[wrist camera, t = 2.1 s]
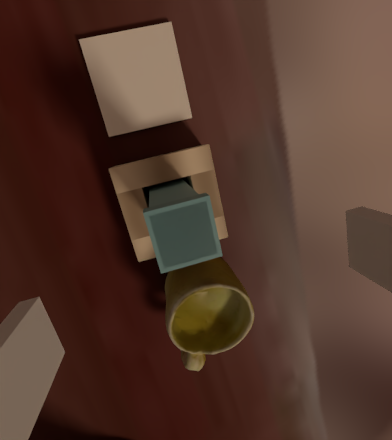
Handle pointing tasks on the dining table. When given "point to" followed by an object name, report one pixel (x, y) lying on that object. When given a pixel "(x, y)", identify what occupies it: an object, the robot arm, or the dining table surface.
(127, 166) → the socket block
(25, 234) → the dining table surface
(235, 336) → the mug
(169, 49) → the tile
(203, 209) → the plug
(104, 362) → the dining table surface
